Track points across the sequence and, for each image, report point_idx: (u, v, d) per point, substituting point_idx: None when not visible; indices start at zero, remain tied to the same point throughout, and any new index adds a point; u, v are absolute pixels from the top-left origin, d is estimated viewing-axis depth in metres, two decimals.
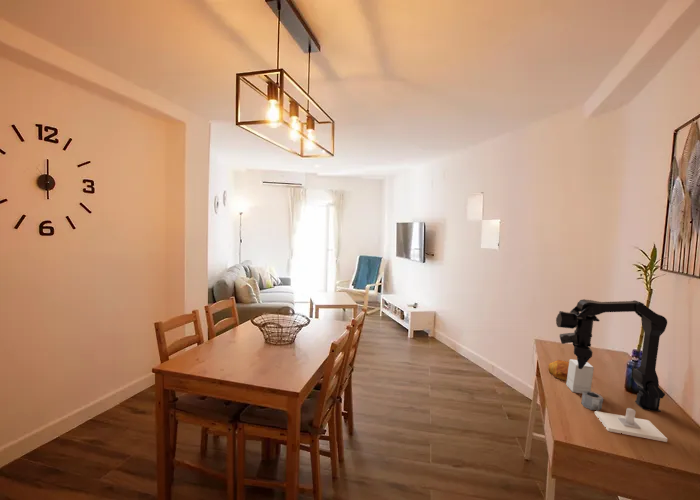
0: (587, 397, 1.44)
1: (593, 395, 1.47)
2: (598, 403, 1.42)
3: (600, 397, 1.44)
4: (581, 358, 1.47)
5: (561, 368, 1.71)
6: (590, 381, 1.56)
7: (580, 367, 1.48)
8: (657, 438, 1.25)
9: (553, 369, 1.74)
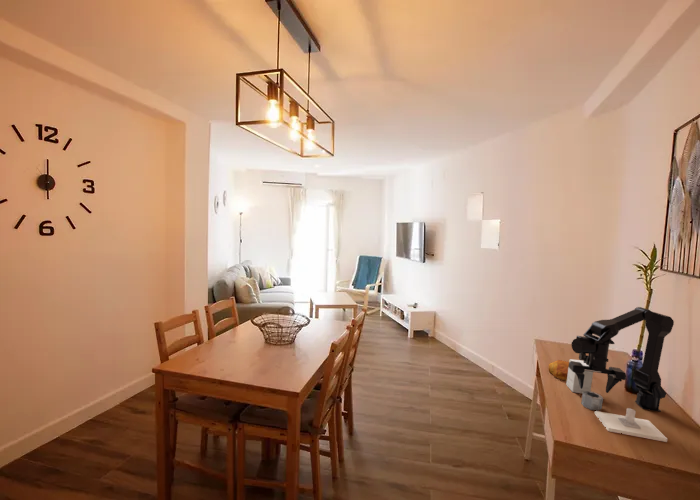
0: (587, 397, 1.44)
1: (593, 395, 1.47)
2: (598, 403, 1.42)
3: (600, 397, 1.44)
4: (579, 376, 1.46)
5: (561, 368, 1.71)
6: (590, 381, 1.56)
7: (580, 386, 1.46)
8: (657, 438, 1.25)
9: (553, 369, 1.74)
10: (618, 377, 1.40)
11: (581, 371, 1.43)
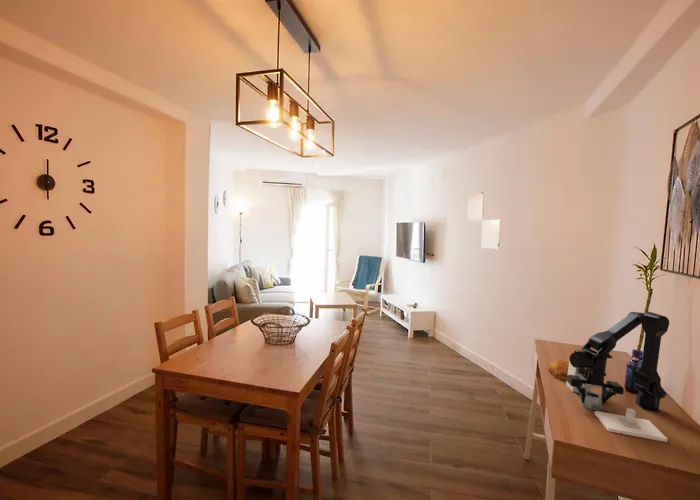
0: (587, 397, 1.44)
1: (593, 395, 1.47)
2: (598, 403, 1.42)
3: (600, 397, 1.44)
4: (580, 390, 1.47)
5: (561, 368, 1.71)
6: None
7: (581, 400, 1.47)
8: (657, 438, 1.25)
9: (553, 369, 1.74)
10: (616, 391, 1.40)
11: (579, 385, 1.44)
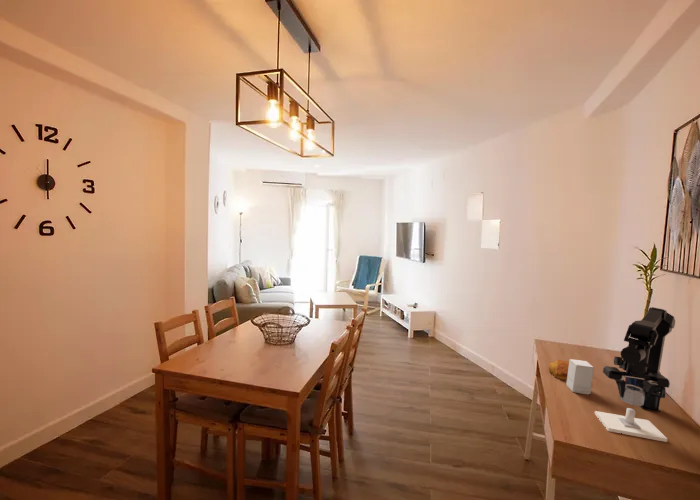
0: (627, 391, 1.30)
1: (633, 389, 1.33)
2: (640, 397, 1.28)
3: (642, 391, 1.29)
4: (619, 383, 1.32)
5: (561, 368, 1.71)
6: (590, 381, 1.56)
7: (620, 394, 1.32)
8: (657, 438, 1.25)
9: (553, 369, 1.74)
10: (660, 384, 1.26)
11: (618, 377, 1.29)
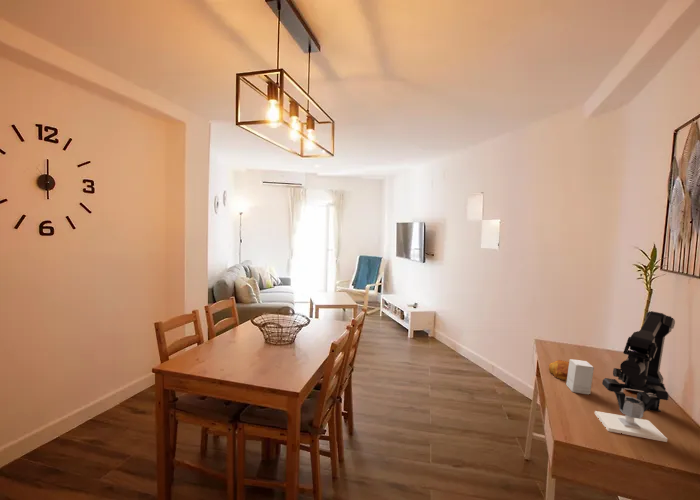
0: (627, 403, 1.30)
1: (632, 401, 1.33)
2: (639, 410, 1.28)
3: (641, 403, 1.30)
4: (618, 396, 1.33)
5: (562, 368, 1.71)
6: (590, 381, 1.56)
7: (619, 406, 1.33)
8: (657, 438, 1.25)
9: (554, 369, 1.74)
10: (660, 397, 1.26)
11: (618, 390, 1.30)
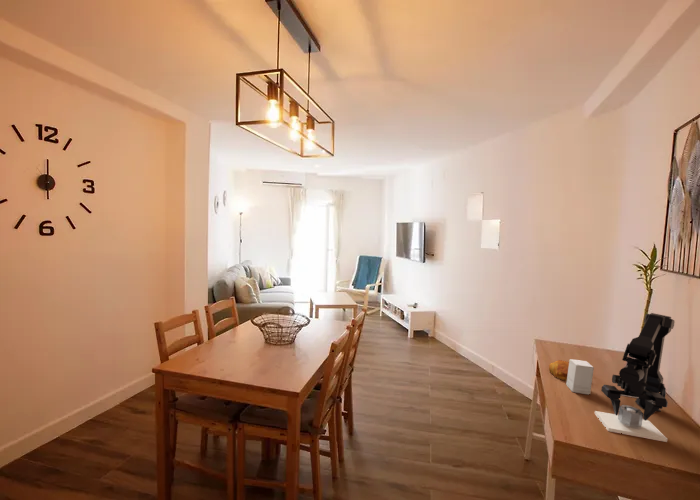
0: (625, 412, 1.30)
1: None
2: (638, 419, 1.29)
3: (640, 412, 1.30)
4: (613, 402, 1.33)
5: (562, 368, 1.71)
6: (590, 381, 1.56)
7: (615, 412, 1.33)
8: (657, 438, 1.25)
9: (554, 369, 1.74)
10: (658, 404, 1.27)
11: (617, 397, 1.30)
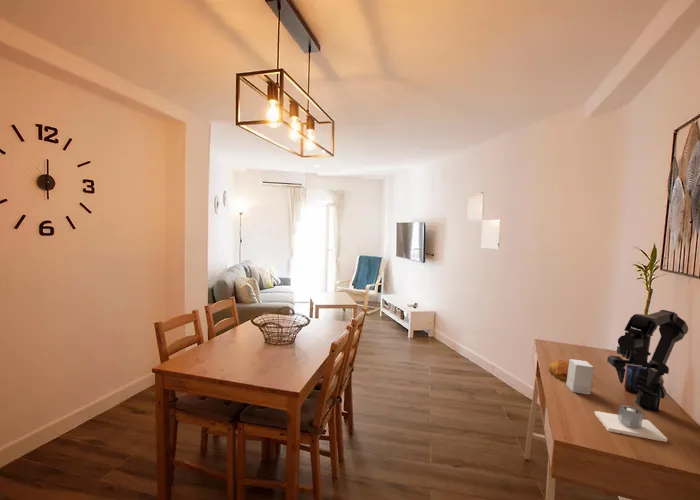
0: (625, 412, 1.30)
1: None
2: (638, 419, 1.29)
3: (640, 412, 1.30)
4: (619, 371, 1.43)
5: (562, 368, 1.71)
6: (590, 381, 1.56)
7: (620, 381, 1.43)
8: (657, 438, 1.25)
9: (554, 369, 1.74)
10: (661, 371, 1.36)
11: (622, 365, 1.39)
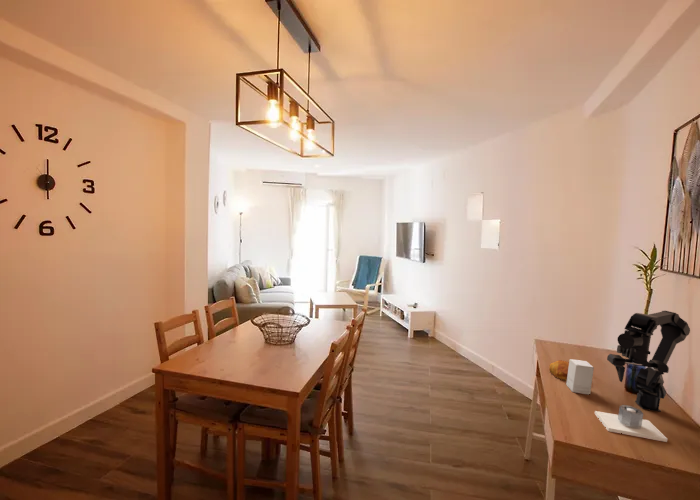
0: (625, 412, 1.30)
1: None
2: (638, 419, 1.29)
3: (640, 412, 1.30)
4: (618, 369, 1.43)
5: (562, 368, 1.71)
6: (590, 381, 1.56)
7: (619, 379, 1.43)
8: (657, 438, 1.25)
9: (554, 369, 1.74)
10: (660, 370, 1.37)
11: (622, 364, 1.40)
